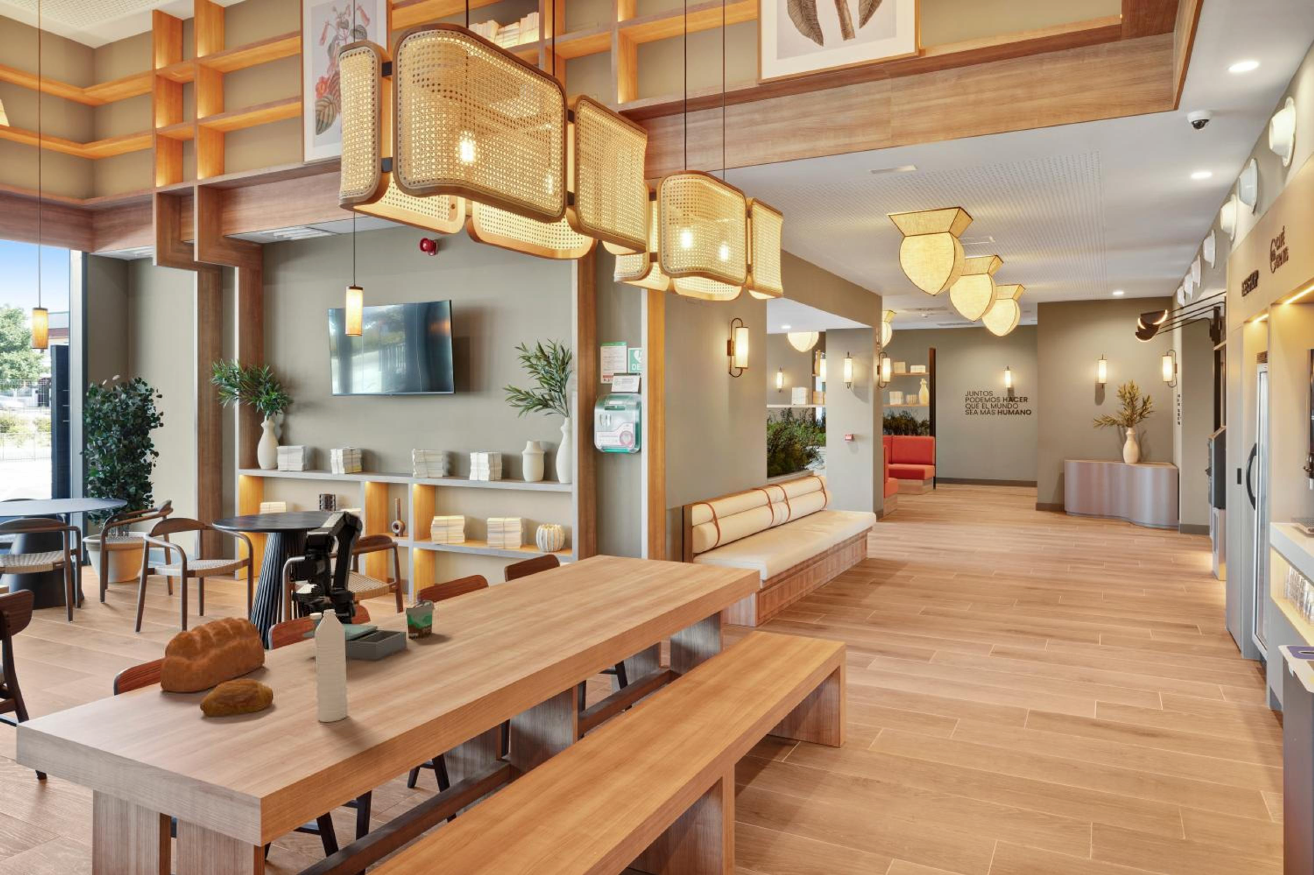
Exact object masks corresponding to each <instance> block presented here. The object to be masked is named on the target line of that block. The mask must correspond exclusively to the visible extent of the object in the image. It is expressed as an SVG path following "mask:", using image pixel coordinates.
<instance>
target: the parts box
mask: <svg viewBox="0 0 1314 875" xmlns="http://www.w3.org/2000/svg"><path fill="white" fill-rule="evenodd" d="M407 644H408V642H407V631H400V630H387V629H376V630H373V631H371V632H368V633H365V634H363V635H360V636H357V637H355V638H352V639H349V640H345V655H346V656H345V658H346V659H348V660H349V659H350V660H359V661H371V662H374V661H375V662H378V661H381V660H382V659H384V658H387V657H390V656H391V655H394V654H396V653H399V652H401V651H403V650H406V649H407V647H408V645H407Z"/></svg>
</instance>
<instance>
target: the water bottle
mask: <svg viewBox="0 0 1314 875" xmlns="http://www.w3.org/2000/svg"><path fill="white" fill-rule="evenodd" d="M335 614H336V613H335V610H334V609H329V610H325V611H324V614H323V615H324V617H323V619H322V620H321V622H320V624H319V625H318V627H317V628H316V631H315V638H314V642H315V645H314V646H315V674H316V676H315V677H316V678H315V682H316V698H317V700H316V707H317V709H316V713H317V714H316V718H317V721H320V722H323V723H326V722H327V723H330V722H331V723H332V722H335V721H336V722H337V721H342V720H343V719H345V718H347V716H348V697H347V694H348V692H347V691H348V689H347V661H346V659H347V658H345V656H346V655H345V629H344V627H343V625H342V624H341V622H340V621H339V620H338V619H337V617H336V616H335ZM318 617H319V618H318ZM320 618H322V614H321V613H314V612H313V613H310V614H309V619H310V620H314V619H320Z"/></svg>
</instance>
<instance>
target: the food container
mask: <svg viewBox="0 0 1314 875" xmlns="http://www.w3.org/2000/svg"><path fill="white" fill-rule="evenodd" d="M435 609H436V607H435V604H434V602H433V601H432V600H428V599H423V600H422V603H420V604H415V605H413V607H405V615H406V619H407V620H406V621H407V622H406V623H407V624H406V625H407V633H408V634H407V635H408V639H414V640H415V639H422V638H423V639H424V638H427V637H429V636H432V633H433V613H434V612H433V611H435Z"/></svg>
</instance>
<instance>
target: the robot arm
mask: <svg viewBox="0 0 1314 875" xmlns="http://www.w3.org/2000/svg"><path fill="white" fill-rule="evenodd" d="M363 526H364V524H363V521H362V520H361V519H360V518H359V517H358V516H356V515H354V514H351V513H350V512H349V511H347V510H334V511H332V512H331V514H330V516H329V518H327V519H326V521H325V522H324V523H323V525H322V526H321V527H319V528H315V529H312V530H311V531H309V533H308V534H307V536H306V537H305V540H304V544H303V548H302V553H301V556H302V557H304V560H302V561H301V562H300V563H299V564H298V568H297V572H298V574H299V576H300V577H301V578H303V579H306V580H307V584H304V585H303V586H302V587H300V588H299V589H296V590H293V591H292V593H291V594H290V600H291V602H300V603H302V602H304V605H307V606H308V607H310V608H311V610H312V612H313V613H321V614H322V615H323V614H324V611H325V610H329V609H334V610H335V613H336V614H335V616H336V617H337V619H338V620H339V621H340V622H341V624H354V622H353V621H352V618H356V617H357V607H356V606H355V602H354V601H353V600H354V593H353V592H352V591H351V590H350V589H349V581H350V574H351V566H352V560H353V552H354V545H355V544H356V543H357V542H358V541H359V540H360V538H361V533H362V532H363V528H364V527H363ZM336 540H337V542H338V544H337V545H338V546H337V552H336V559H335V565H334V572H333V573H334V574H332V555H333V551H334V547H335V544H336ZM323 617H324V615H323Z"/></svg>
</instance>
